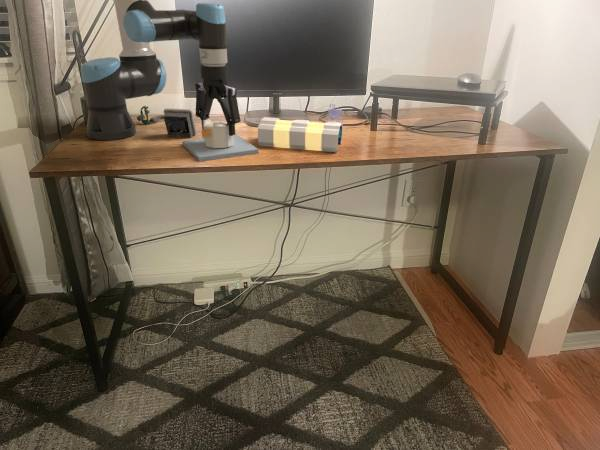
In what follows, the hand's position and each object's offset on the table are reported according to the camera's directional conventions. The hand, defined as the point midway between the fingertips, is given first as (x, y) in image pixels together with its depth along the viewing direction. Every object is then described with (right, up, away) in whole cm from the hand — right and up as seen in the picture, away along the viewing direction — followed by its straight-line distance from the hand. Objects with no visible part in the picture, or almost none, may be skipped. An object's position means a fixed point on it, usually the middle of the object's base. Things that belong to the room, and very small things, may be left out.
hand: (219, 143), depth 135 cm
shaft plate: (0, -2, +1) cm, 2 cm away
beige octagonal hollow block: (-1, -1, -1) cm, 1 cm away
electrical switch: (-15, +4, +12) cm, 19 cm away
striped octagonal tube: (+25, 0, +6) cm, 26 cm away
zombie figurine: (-28, +13, +28) cm, 42 cm away
